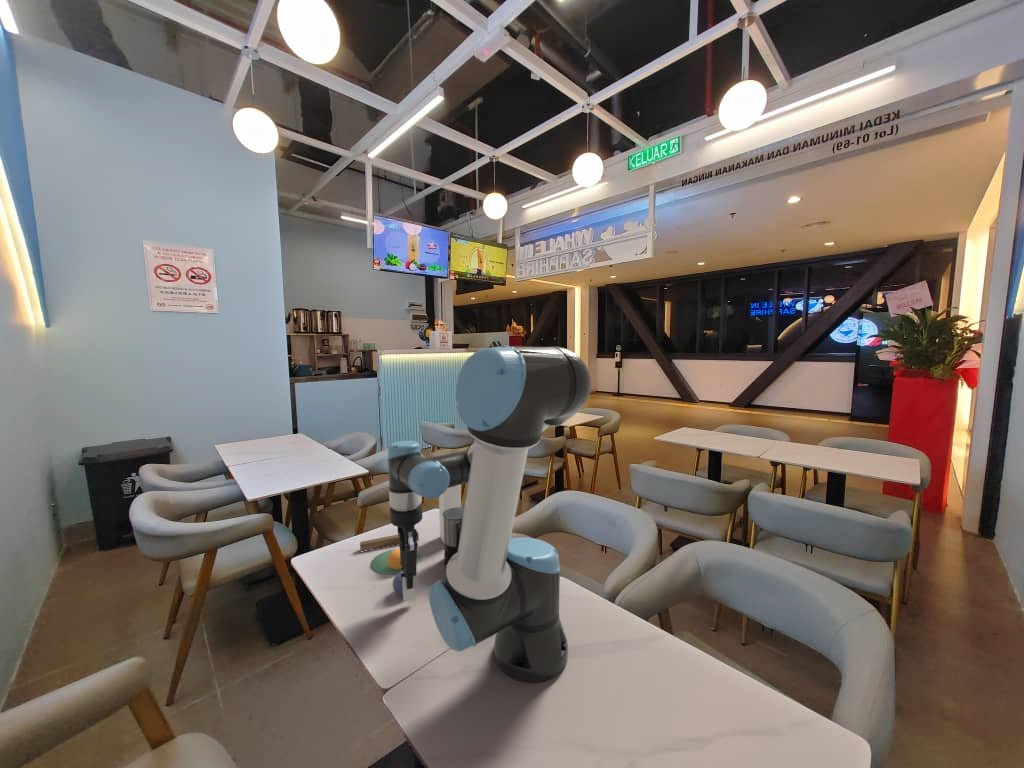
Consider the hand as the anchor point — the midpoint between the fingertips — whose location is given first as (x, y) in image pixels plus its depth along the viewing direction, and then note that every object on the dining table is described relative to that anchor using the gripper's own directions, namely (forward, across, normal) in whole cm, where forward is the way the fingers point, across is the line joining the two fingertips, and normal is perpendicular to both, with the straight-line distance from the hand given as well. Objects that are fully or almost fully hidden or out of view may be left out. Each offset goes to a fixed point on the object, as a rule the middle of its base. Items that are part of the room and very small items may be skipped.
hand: (409, 598), depth 97 cm
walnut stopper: (+2, +34, 0) cm, 34 cm away
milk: (+2, +30, -19) cm, 35 cm away
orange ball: (-1, +19, 0) cm, 19 cm away
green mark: (+2, +23, 0) cm, 23 cm away
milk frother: (+2, +14, -21) cm, 25 cm away
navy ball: (-1, +6, 0) cm, 6 cm away
